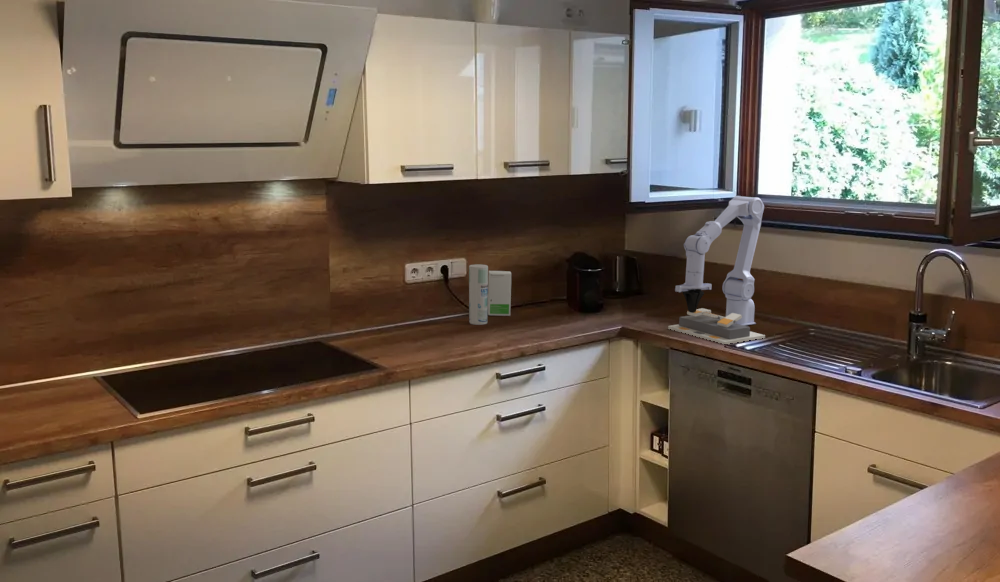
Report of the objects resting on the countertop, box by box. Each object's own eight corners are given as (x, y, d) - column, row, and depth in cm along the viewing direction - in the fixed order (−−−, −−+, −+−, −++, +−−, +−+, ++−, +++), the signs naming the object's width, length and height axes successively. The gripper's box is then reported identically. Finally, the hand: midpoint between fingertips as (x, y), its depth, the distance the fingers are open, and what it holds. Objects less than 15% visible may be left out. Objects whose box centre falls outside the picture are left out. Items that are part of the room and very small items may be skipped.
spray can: (481, 325, 295) (481, 267, 292) (465, 323, 298) (465, 266, 295) (491, 322, 301) (491, 265, 297) (475, 320, 304) (475, 263, 300)
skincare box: (488, 316, 311) (488, 273, 308) (487, 312, 317) (487, 270, 314) (511, 315, 311) (511, 273, 308) (510, 312, 318) (510, 270, 315)
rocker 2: (716, 318, 288) (717, 314, 288) (726, 320, 284) (727, 317, 284) (701, 314, 284) (702, 311, 284) (711, 317, 281) (712, 313, 281)
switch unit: (706, 323, 301) (707, 311, 301) (764, 338, 280) (765, 326, 279) (668, 328, 292) (668, 317, 291) (725, 344, 270) (725, 332, 270)
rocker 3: (732, 315, 282) (731, 312, 281) (742, 318, 278) (741, 314, 278) (717, 325, 279) (716, 322, 279) (727, 328, 275) (726, 324, 275)
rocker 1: (701, 311, 294) (701, 307, 294) (711, 313, 290) (711, 310, 290) (686, 314, 290) (686, 310, 290) (695, 316, 287) (695, 313, 286)
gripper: (702, 269, 293) (699, 308, 296) (670, 271, 286) (667, 311, 288) (717, 271, 287) (714, 312, 290) (685, 274, 280) (682, 315, 282)
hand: (691, 312), depth 288 cm, fingers closed, pressing on rocker 1
